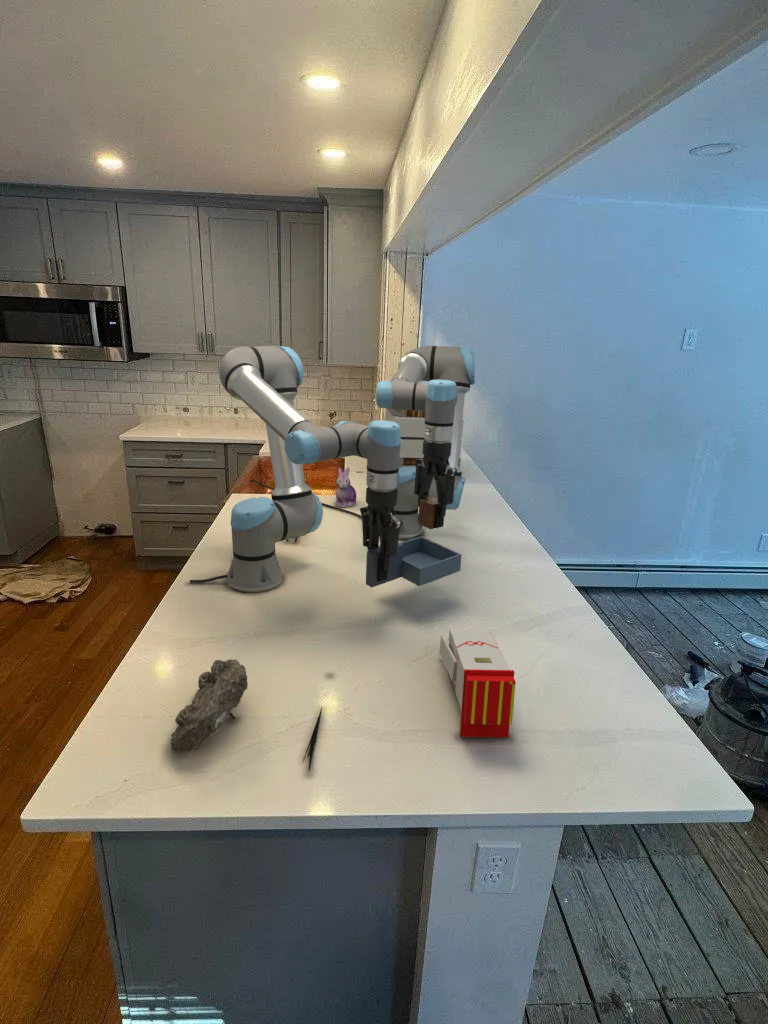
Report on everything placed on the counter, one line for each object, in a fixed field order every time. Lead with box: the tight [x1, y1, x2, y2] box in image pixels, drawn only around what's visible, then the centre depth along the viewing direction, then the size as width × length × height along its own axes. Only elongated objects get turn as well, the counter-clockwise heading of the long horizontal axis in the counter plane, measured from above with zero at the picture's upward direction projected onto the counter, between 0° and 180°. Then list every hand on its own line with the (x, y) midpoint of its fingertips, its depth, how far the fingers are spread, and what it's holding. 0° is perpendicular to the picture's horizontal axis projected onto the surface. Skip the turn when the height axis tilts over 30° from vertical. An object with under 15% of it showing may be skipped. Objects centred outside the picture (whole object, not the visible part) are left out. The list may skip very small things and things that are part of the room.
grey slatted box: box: [384, 408, 464, 469], centre depth 268 cm, size 34×33×41 cm
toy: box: [438, 628, 517, 738], centre depth 117 cm, size 12×13×30 cm
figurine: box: [335, 466, 357, 508], centre depth 225 cm, size 9×10×15 cm
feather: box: [301, 673, 332, 771], centre depth 108 cm, size 2×28×2 cm
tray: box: [365, 535, 462, 588], centre depth 146 cm, size 15×25×9 cm, turn 131°
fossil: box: [170, 658, 249, 753], centre depth 106 cm, size 22×10×15 cm
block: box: [418, 497, 445, 530], centre depth 155 cm, size 5×5×7 cm
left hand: (378, 577), depth 142 cm, fingers closed on tray, 2 cm apart
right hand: (431, 524), depth 156 cm, fingers closed on block, 5 cm apart
